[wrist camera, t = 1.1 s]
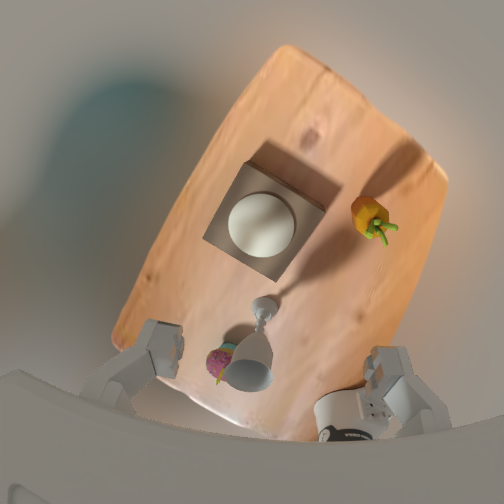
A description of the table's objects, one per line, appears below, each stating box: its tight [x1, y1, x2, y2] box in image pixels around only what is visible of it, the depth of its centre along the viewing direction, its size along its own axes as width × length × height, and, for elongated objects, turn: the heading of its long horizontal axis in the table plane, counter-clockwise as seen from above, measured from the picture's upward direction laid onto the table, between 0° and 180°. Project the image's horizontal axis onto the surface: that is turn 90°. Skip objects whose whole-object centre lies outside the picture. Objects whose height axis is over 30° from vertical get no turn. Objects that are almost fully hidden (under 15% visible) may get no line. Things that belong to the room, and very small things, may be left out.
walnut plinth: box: [202, 160, 325, 282], centre depth 47 cm, size 14×14×4 cm
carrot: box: [351, 196, 398, 247], centre depth 38 cm, size 5×5×15 cm
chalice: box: [224, 297, 278, 392], centre depth 47 cm, size 7×7×18 cm
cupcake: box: [206, 343, 236, 385], centre depth 56 cm, size 9×8×12 cm
